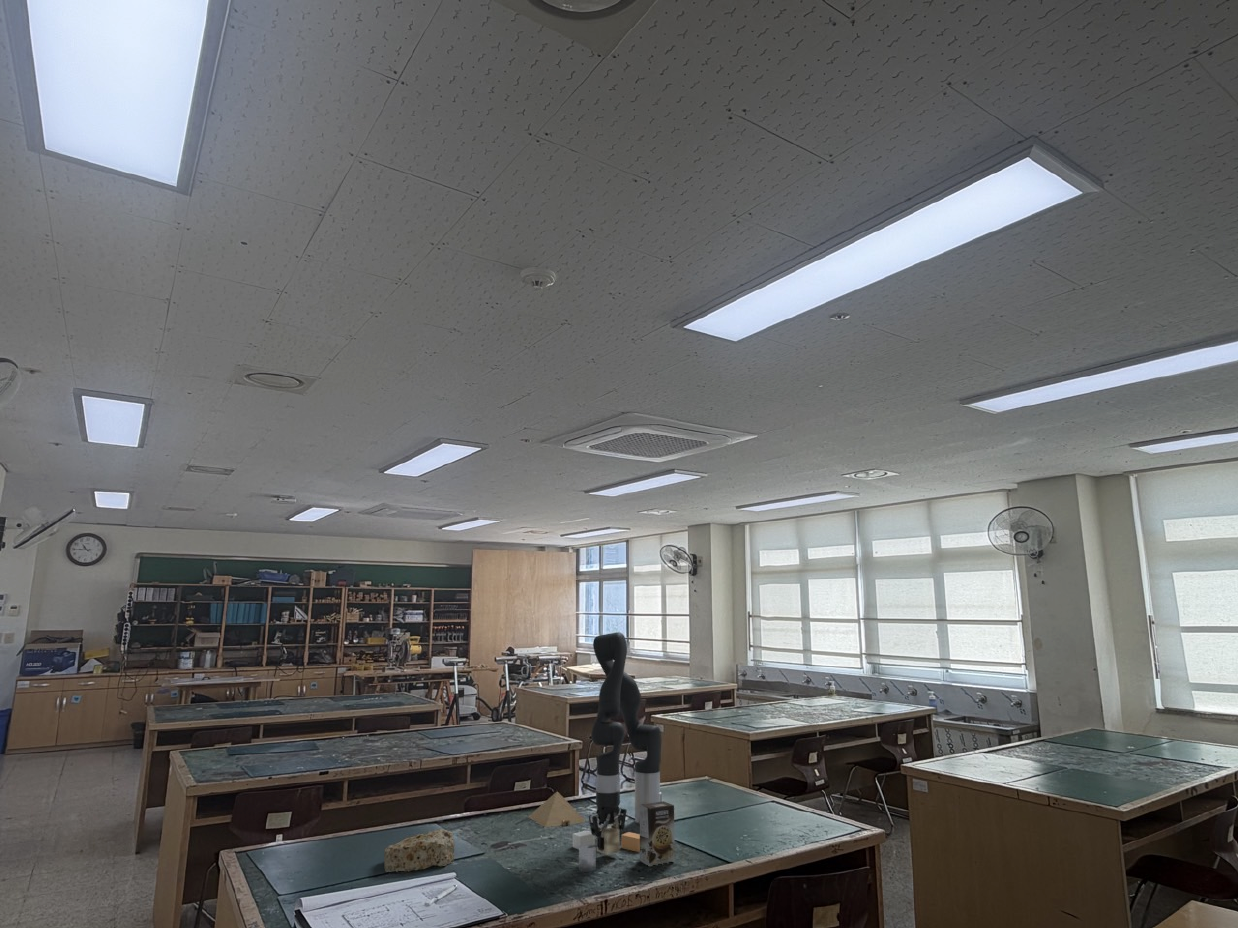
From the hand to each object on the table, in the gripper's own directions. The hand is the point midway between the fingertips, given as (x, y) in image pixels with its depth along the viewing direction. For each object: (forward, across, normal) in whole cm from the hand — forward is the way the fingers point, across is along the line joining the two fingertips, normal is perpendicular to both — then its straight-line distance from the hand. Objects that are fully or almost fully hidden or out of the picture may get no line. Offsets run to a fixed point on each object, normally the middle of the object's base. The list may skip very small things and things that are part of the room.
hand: (607, 847), depth 217 cm
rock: (+3, +47, -32) cm, 57 cm away
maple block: (+1, 0, 0) cm, 1 cm away
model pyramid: (+4, -13, -44) cm, 46 cm away
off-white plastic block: (+3, -1, -13) cm, 13 cm away
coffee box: (+3, -9, +13) cm, 16 cm away
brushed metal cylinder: (+3, +11, +4) cm, 12 cm away
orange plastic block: (+3, -12, -1) cm, 12 cm away
